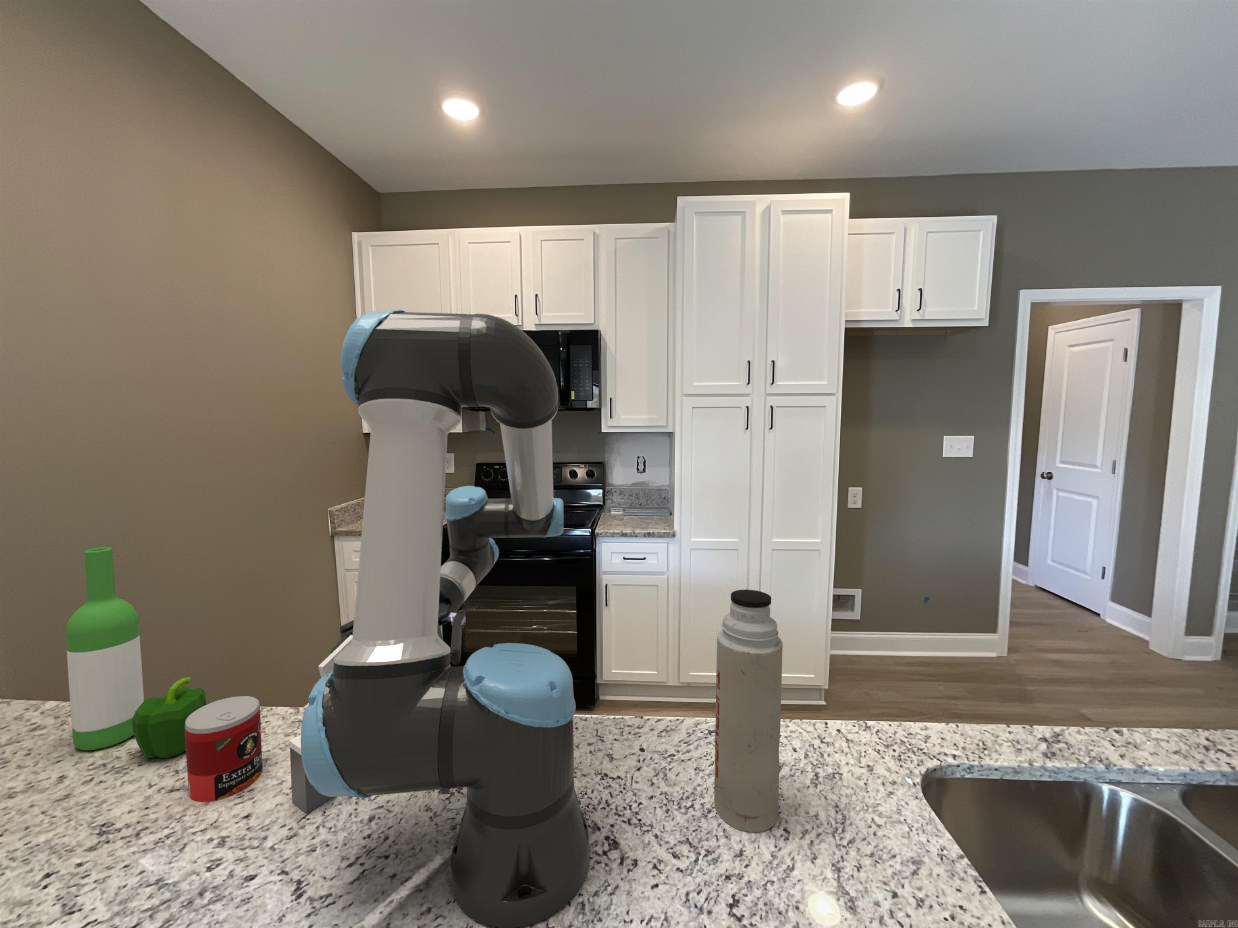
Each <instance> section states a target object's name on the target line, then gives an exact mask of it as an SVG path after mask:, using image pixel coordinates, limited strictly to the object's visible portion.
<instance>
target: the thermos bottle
mask: <svg viewBox="0 0 1238 928" xmlns="http://www.w3.org/2000/svg"><path fill="white" fill-rule="evenodd" d="M730 600H731V602H730V606H729V613H727V614H725V615H724V616H723V619H722V623H721V628H722V629H721V630H720V631H719V632H718V633H717V635H716V667H715V668H716V671H715V673H716V674H715V675H716V676H715V725H714V727H715V728H714V731H715V734H714V737H715V738H714V788H713V789H714V791H713V793H714V796H713V803H714V804H713V805H714V807H715V808H714V809H715V811H716V812H717V814H718V816H719V817H720V818H721V819H722V821H724V822H725V823H727V824H728V825H729V826H730V827H732V828H735V829H737V830H739V831H743V832H747V833H760V832H765V831H768V830H770V829H771V828H772V827H773V826H774V825H775V824H776V823H777V820H778V818H779V796H780V795H779V792H780V791H779V790H780V740H781V721H782V720H781V719H782V717H781V716H782V713H781V712H782V681H783V680H782V675H783V646H784V645H783V640H782V638H780V636H779V631H778V623H777V621H776V620H775V619H774V618H772V617H771V607H770V605H771V604H772V596H771V595H770V594H768V593H766V592H763V591H760V590H755V589H737V590H734V591H731V593H730Z"/></svg>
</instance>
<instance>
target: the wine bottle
mask: <svg viewBox="0 0 1238 928" xmlns="http://www.w3.org/2000/svg"><path fill="white" fill-rule="evenodd" d="M113 553H114V552H113V548H112V547H110V546H104V547H103V546H102V547H94V548H89V549H88V548H87V549H86V550H85V551H84V567H85V583H86V584H85V587H86V588H85V589H86V602H85V603H84V604H82V605H81V606H80V607H79V608H78V609H77V610H75V611H74V612H73V614H72V615H71V616H70V617H69V619H68V621H67V623H66V626H65V639H66V659H67V661H66V662H67V673H68V674H67V675H68V676H67V677H68V690H69V703H70V704H69V705H70V719H71V721H70V722H71V728H72V729H71V731H72V742H73V745H74V747H75V748H76V749H78V750H81V751H94V750H101V749H104V748H108V747H109V748H110V747H111V746H114V745H117V744H120V743H122V742H124V741H126V740H128V739H130V738H131V736H132V737H133V736H134V734H133V726H132V718H133V716H134V714H135V712H136V710H137V709H138V707H139V706H140V705H141V704H142V703H143V701H144V700H145V697H144V682H143V681H144V680H143V668H142V649H141V636H140V623H139V620H140V619H139V614H138V612H137V610H136V608H135V607H134V606H133V605H132V604H131V603H130V602H129V601H127V600H125V599H122V598H119V597H118V596H117V592H116V579H115V567H114V564H115V563H114V554H113Z"/></svg>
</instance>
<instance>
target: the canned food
mask: <svg viewBox="0 0 1238 928" xmlns="http://www.w3.org/2000/svg"><path fill="white" fill-rule="evenodd" d="M261 721H262V719H261V705H260V700H259V699H257V698H256V697H255V696H254V697H253V696H249V695H246V696H245V695H242V696H241V695H240V696H239V695H238V696H231V697H227V698H223V699H218V700H216V701H213V702H211V703H208V704H206V705H205V706H203V707H201V708H199V709H197V710H196V711H194V712H193V713H192V714H191V715H189V716H188V718H187V719H186V722H185V742H186V751H185V756H186V757H185V758H186V771H187V775H186V776H187V787H188V788H187V791H188V797H189V799H191V800H192V801H194V802H198V803H211V802H216V801H221V800H223V799H227V798H229V797H232V796H234V795H236V794H239V793H240V792H243V791H245V790H247V788H249V787H250V786H251V785H253V784H254V783H255V782H257V780H258V779H259V778H260V777H261V774H262V773H263V751H262V750H263V748H262V724H261Z"/></svg>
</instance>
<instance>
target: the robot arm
mask: <svg viewBox="0 0 1238 928" xmlns="http://www.w3.org/2000/svg"><path fill="white" fill-rule="evenodd" d="M340 355H341V356H340V371H341V372H342V373H343V375H342V377H341V382H342V386H343V387H342V388H343V389H344V392H345V394H346V397H347V398H348V399H349V400H350V401H351V403H353V404H356V405H358V407H357V408H358V409H357V413H358V415H359V416H360V418H362V420H363V422H365V423H366V424H367V425H368V426H369V427H370V435H369V447H368V457H367V458H368V461H367V468H366V470H367V471H366V481H365V491H364V493H365V494H364V504H363V514H362V515H363V516H362V526H361V536H360V537H361V539H360V549H359V562H358V571H357V572H358V573H357V583H356V595H355V605H354V615H353V616H354V617H353V619H352V620H350V621H348V622H347V623H345V624H342V625H341V626H340V627H339V631H340V633H339V634H340V636H341V640H340V641H339V642H337V644H336V645H335V646H334V647H333V648H332V649H331V651H330V655H329V656H327V657H326V658H325V659H324V660H323V661H322V662H321V663H320V664H318V671H319V675H320V678H319V680H318V681H317V682H316V683H315V684H314V685H313V688H312V689H311V692H310V693H309V696H308V698H307V700H308V706H307V707H306V708H305V709H304V710H303V715H302V720H301V729H300V735H301V755H302V762H303V767H304V770H305V773H306V776H307V778H308V780H309V782H310V783H311V784H312V785H313V786H314V788H315V789H316V790H317V791H318V792H319V793H321V794H323V795H325V796H330V797H334V798H337V797H340V798H341V797H342V798H343V797H345V798H346V797H354V798H358V799H366V798H371V797H372V796H381V795H383V796H385V795H394V794H404V793H405V794H406V793H417V792H427V791H441V790H446V789H459V788H466V805H465V808H464V811H463V815H462V817H461V821H460V824H459V829H458V833H457V834H456V837H455V839H454V841H453V846H452V850H451V856H450V883H451V885H450V886H451V890H452V894H453V896H454V900H455V901H456V903H457V904H458V906H459V908H460V909H461V910H462V912H464V913H465V914H466V915H467V916H468V917H470V918H471V919H472V920H473V921H476V922H478V923H480V924H483V925H486V926H489V927H492V928H521V927H526V926H530V925H533V924H536V923H539V922H541V921H543V920H546V919H547V918H549V917H551V916H552V915H554V914H555V913H557V912H558V911H560V910H561V909H563V908H564V907H565V906H566V905H567V904H568V903H569V902H570V901H571V899H573V897H575V895H576V894H577V892H578V891H579V890H580V888H581V886H582V885H583V883H584V881H585V878H586V876H587V873H588V870H589V864H590V832H589V827H588V823H587V821H586V818H585V816H584V813H583V811H582V810H581V805H580V801H579V797H578V794H577V792H576V790H575V778H574V777H575V774H574V773H575V765H574V763H575V762H574V761H575V757H574V755H575V754H574V752H575V751H574V749H575V748H574V716H575V714H576V706H577V705H576V700H575V698H574V684H573V683H574V681H573V675H572V672H571V670H570V668H569V665H568V664H567V663H566V662H565V660H564V659H563V658H562V657H560V656H559V655H558V654H556V653H554V652H552V651H550V650H549V649H547V648H544V647H540V646H537V645H533V644H529V643H528V644H527V643H520V642H519V643H518V642H515V643H514V642H513V643H512V642H506V643H505V642H504V643H496V644H493V645H492V647H490V646H485V647H482V648H480V649H477V650H476V651H474V652H473V653H472V654H470V656H469V657H468V658H467V660H466V663H465V665H463V666H457V665H459V664H460V662H461V655H462V639H463V637H462V635H463V630H464V628H465V626H466V624H467V620H466V619H467V617H466V611H465V609H460V608H461V606H462V605H463V604H464V602H465V601H466V600H467V599H468V597H469V596H470V595H471V594H472V593H473V591H474V590H475V589H476V587H477V586H478V585H479V583H480V582H481V581H482V580H483V579H484V578H485V576H487V575H488V573H490V572H491V571H492V569H493V566H494V565H495V563H496V562H497V561H498V559H499V554H500V549H499V547H498V545H497V544H496V542H495V540H494V539H497V538H498V539H500V538H502V539H503V538H505V539H506V538H508V539H509V538H543V539H544V538H547V537H548V538H550V537H559V536H561V535H562V534H563V533H564V522H565V521H564V519H565V518H564V517H565V516H564V515H565V514H564V501H563V499H561V498H560V497H558V498H557V497H554V473H553V472H554V471H553V470H554V469H553V466H554V464H553V460H554V459H553V429H552V428H553V426H552V425H553V424H552V420H553V419H555V416H556V415H557V412H558V409H559V387H558V383H557V381H556V380H557V379H556V376H555V373H554V371H553V368H552V367H551V365H550V363H549V361H548V359H547V357H546V356H545V354H544V353H543V351H542V350H541V348H540V347H539V346H538V345H537V344H536V342H534V340H533V339H532V338H531V337H530V336H529V335H527V333H525V332H524V331H523V330H522V329H521V328H520V327H518V326H516V325H515V324H514V323H511V322H510V321H509V320H506V319H504V318H502V317H499V316H495V315H492V314H486V313H473V314H471V313H451V312H450V313H447V312H446V313H445V312H443V313H442V312H414V311H412V312H411V311H410V312H409V311H405V310H401V309H392V310H389V311H369V312H366V313H364V314H363V315H360V316H359V317H357V318H356V319H355V320H354V321H353V322H352V323H351V325H350V327H349V328H348V330H347V332H346V334H345V337H344V340H343V343H342V348H341V353H340ZM469 407H471V408H473V407H475V408H478V407H479V408H480V407H485V408H489V409H490V413H491V416H492V417H493V418H494V420H496V422H497V423H499V426H500V433H501V438H502V439H501V440H502V446H503V452H504V459H505V467H506V472H507V477H508V483H509V493H510V498H488V494H487V492H486V490H485V489H483V488H482V487H480V486H474V485H466V486H465V485H463V486H459V487H457V488H454V489H452V490H450V492H448V493H447V495H446V497H445V489H446V472H447V469H446V468H447V452H448V451H447V449H448V435H449V433H451V431H453V430H454V429H455V428H456V427H458V426H459V425H460V424H461V423H462V422H461V420H462V409H463V408H469ZM444 507H445V508H444ZM444 509H445V513H446V514H445V520H446V525H447V535H448V541H449V543H448V544H449V553H450V554H449V555H450V556H449V558H448V559H447V560H446V561H445V562H444V563H443V564H442V547H443V545H442V544H443V531H444V530H443V529H444V528H443V527H444V525H443V524H444ZM448 623H451V624H450V625H451V626H452V627H451V628H452V630H451V631H452V632H451V639H450V640H451V641H450V646H449V645H448V644H447V643H446V642H445V640H444V638H443V634H442V631H441V627H442V626H443V625H446V624H448ZM451 663H452V665H454V666H451ZM455 665H456V666H455Z"/></svg>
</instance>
